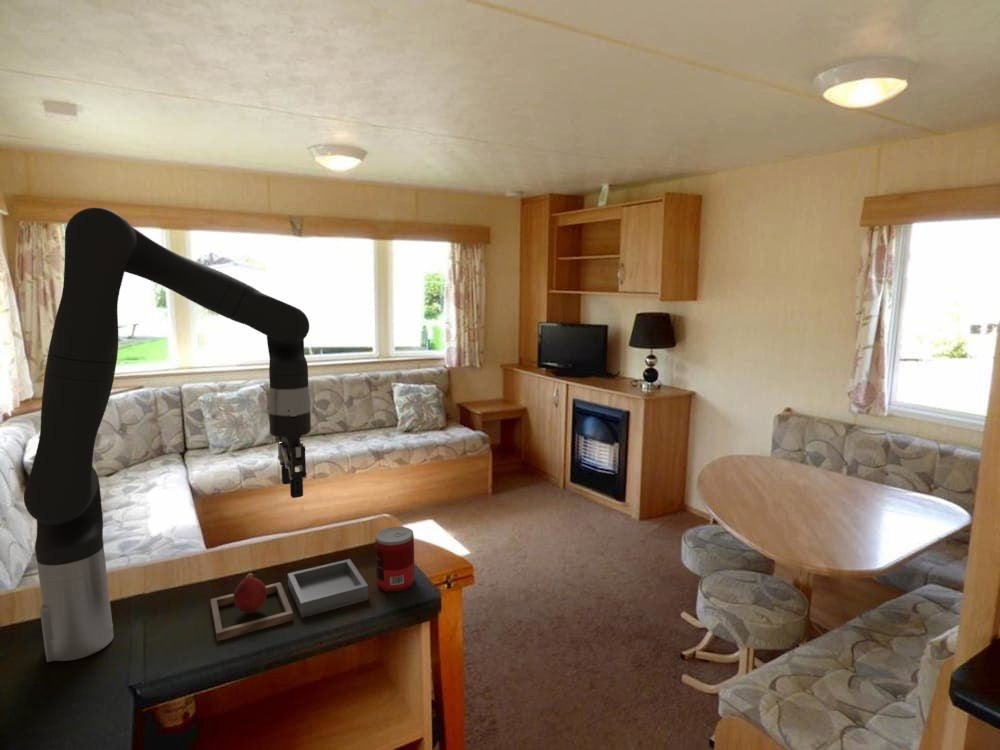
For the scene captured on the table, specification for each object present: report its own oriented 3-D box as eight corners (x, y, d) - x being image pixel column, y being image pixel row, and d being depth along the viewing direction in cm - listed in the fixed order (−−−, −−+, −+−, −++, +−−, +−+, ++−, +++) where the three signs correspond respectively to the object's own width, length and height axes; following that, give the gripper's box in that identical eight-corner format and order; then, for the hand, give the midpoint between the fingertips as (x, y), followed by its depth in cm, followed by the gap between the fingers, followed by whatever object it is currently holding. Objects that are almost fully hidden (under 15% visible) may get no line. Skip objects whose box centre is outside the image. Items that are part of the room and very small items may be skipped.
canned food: (422, 579, 125) (421, 531, 123) (396, 596, 118) (395, 545, 116) (395, 570, 129) (393, 523, 127) (369, 586, 122) (367, 536, 120)
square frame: (217, 641, 103) (216, 633, 103) (211, 606, 114) (210, 599, 114) (293, 620, 110) (292, 612, 110) (280, 588, 121) (280, 582, 121)
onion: (245, 625, 108) (242, 585, 107) (229, 614, 112) (226, 575, 110) (273, 611, 113) (271, 572, 111) (257, 601, 116) (254, 564, 115)
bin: (301, 617, 110) (300, 603, 110) (288, 587, 122) (287, 573, 121) (368, 599, 117) (368, 585, 116) (350, 571, 128) (349, 558, 128)
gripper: (263, 404, 117) (266, 482, 119) (276, 418, 105) (279, 505, 107) (301, 401, 121) (303, 476, 123) (318, 415, 109) (320, 498, 111)
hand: (292, 490), depth 115 cm, fingers open, 8 cm apart
